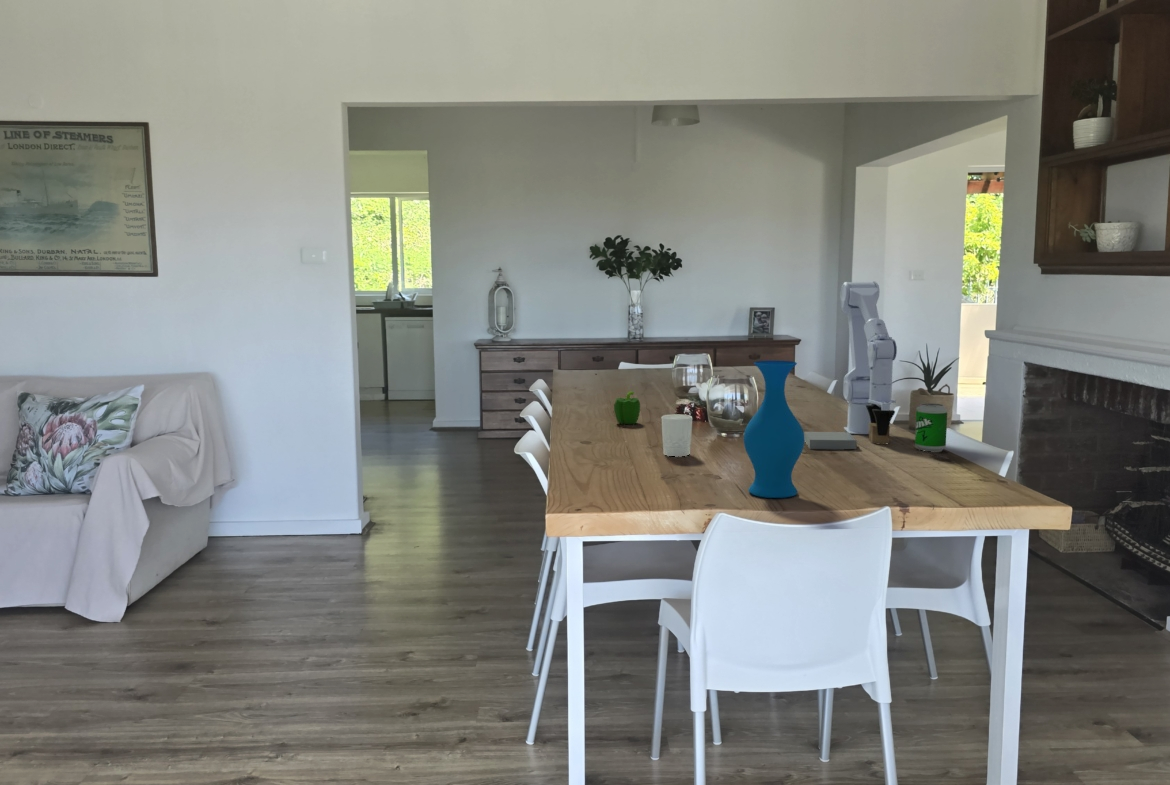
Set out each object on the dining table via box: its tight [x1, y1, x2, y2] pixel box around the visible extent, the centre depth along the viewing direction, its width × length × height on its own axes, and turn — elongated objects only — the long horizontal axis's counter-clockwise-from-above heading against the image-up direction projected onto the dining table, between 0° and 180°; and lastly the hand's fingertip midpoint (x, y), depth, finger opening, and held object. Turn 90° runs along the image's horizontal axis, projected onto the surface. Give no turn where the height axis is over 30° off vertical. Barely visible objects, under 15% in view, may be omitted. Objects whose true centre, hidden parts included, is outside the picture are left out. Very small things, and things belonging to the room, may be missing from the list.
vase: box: [743, 360, 805, 499], centre depth 183 cm, size 12×13×28 cm
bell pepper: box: [613, 391, 641, 425], centre depth 273 cm, size 8×8×10 cm
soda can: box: [914, 402, 948, 453], centre depth 228 cm, size 8×8×12 cm
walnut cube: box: [868, 423, 891, 444], centre depth 240 cm, size 4×4×5 cm
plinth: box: [803, 431, 858, 450], centre depth 237 cm, size 12×12×2 cm
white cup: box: [660, 413, 693, 458], centre depth 225 cm, size 8×8×10 cm
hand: (879, 432), depth 240 cm, fingers open, 7 cm apart
